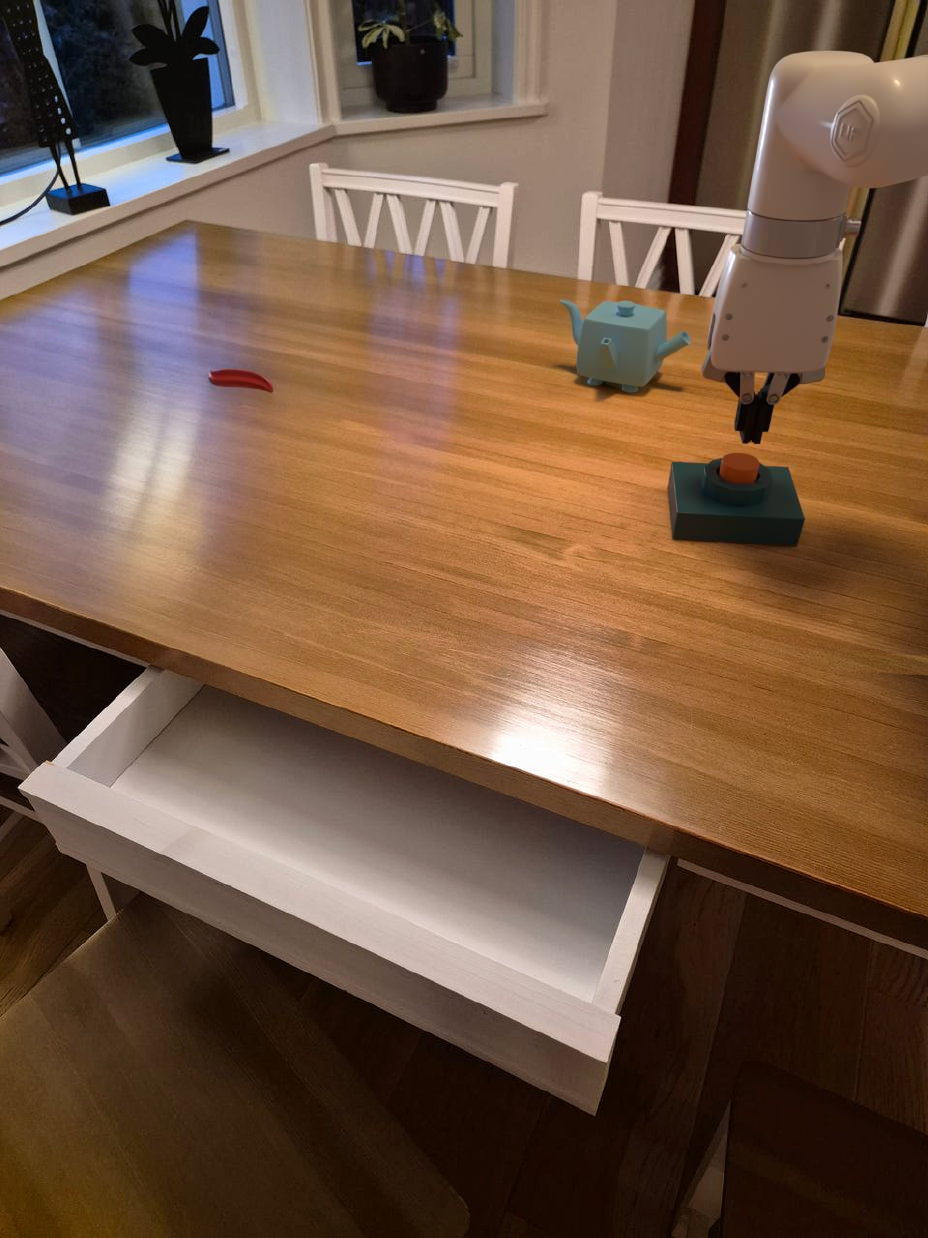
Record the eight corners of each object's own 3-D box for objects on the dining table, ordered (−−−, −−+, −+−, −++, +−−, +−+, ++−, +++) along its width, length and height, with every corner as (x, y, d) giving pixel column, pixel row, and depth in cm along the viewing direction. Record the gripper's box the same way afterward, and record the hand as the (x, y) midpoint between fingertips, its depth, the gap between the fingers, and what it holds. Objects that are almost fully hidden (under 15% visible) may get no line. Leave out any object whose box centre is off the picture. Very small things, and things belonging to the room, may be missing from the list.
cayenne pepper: (198, 377, 115) (195, 364, 114) (225, 366, 118) (222, 353, 117) (253, 400, 109) (250, 386, 108) (280, 388, 112) (278, 374, 111)
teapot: (696, 372, 113) (709, 297, 106) (664, 415, 103) (675, 335, 97) (573, 350, 120) (578, 278, 113) (532, 388, 110) (535, 312, 104)
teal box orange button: (781, 492, 89) (792, 451, 86) (797, 546, 81) (809, 502, 78) (667, 487, 90) (673, 445, 87) (672, 539, 83) (679, 496, 80)
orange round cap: (753, 468, 84) (757, 453, 83) (758, 486, 81) (762, 471, 80) (717, 466, 85) (720, 451, 83) (720, 485, 82) (723, 469, 81)
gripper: (874, 221, 70) (822, 422, 82) (693, 221, 72) (667, 417, 84) (898, 247, 65) (838, 459, 76) (700, 246, 66) (671, 453, 78)
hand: (749, 437), depth 80 cm, fingers closed
